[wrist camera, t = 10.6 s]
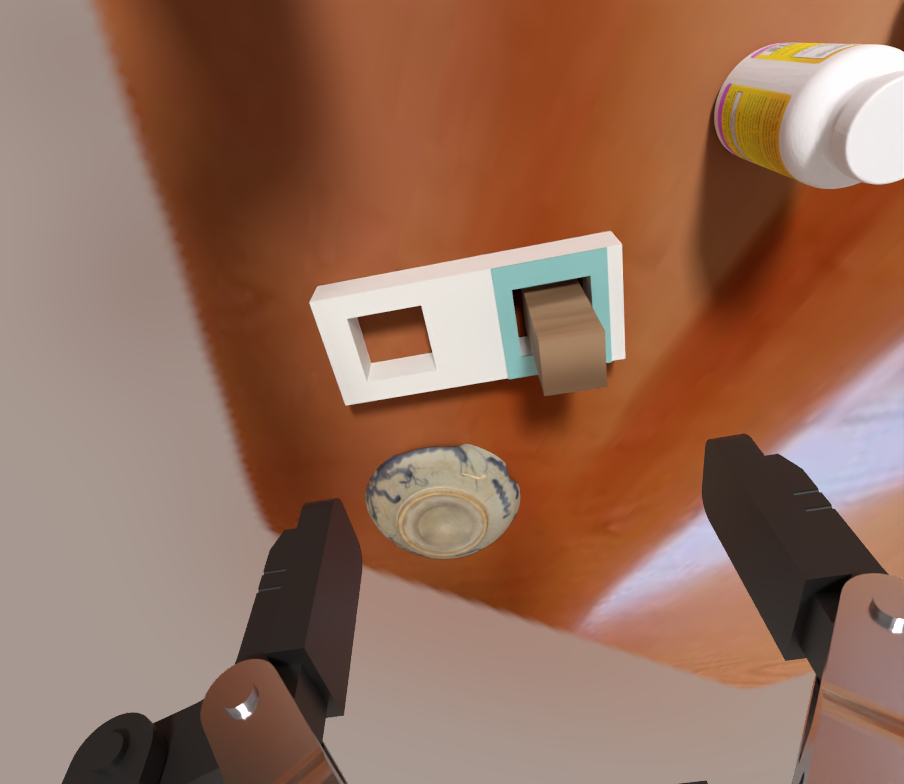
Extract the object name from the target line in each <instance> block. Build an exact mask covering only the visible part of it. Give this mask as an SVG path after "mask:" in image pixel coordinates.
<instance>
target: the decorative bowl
mask: <svg viewBox="0 0 904 784" xmlns="http://www.w3.org/2000/svg"><path fill="white" fill-rule="evenodd" d="M370 480H371V481H370V483H368V485H367V489H366V506H367V510H368V513H369V515H370V517H371V519H372V520H373V522H374V524H375V525H376V526H377V528H378V529H379V530H380V531H381V532H382V534H383V535H384V536H385V537H386V538H388V539H389V540H391V541H394V542H395V545H397V546H398V547H400V548H402V549H404V550H406V551H409V552H411V553H414V554H417V555H420V556H424V557H429V558H436V559H452V558H458V557H463V556H467V555H470V554H472V553H475V552H477V551H479V550H481V549H483V548H485V547H487V546H488V545H490V544H491V543H493V542H494V541H495V540H497V539H498V538H499V537H500V536H501V535H502V534H503V533H504V532H505V530H506V529H507V528H508V527H509V525H510V524H511V523H512V521H513V520H514V518H515V516H516V514H517V511H518V508H519V504H520V490H519V486H518V483H516V482H515V481H513V480H512V479H510V477H509V476H508V471H507V467H506V463H504V462H503V461H502V460H501V459H500V458H498V457H497V456H496V455H494V454H492V453H490V452H488V451H486V450H484V449H482V448H479V447H476V446H473V445H469V444H462V445H460V446H454V447H428V448H422V449H416V450H413V451H409V452H406V453H403V454H399V455H394V456H392V457H391V458H389V459H388V460H386V461H385V462H384V463H383V464H381V465H380V466H379V467H378V469H377V470H376V471H375V472H374V474H373V475H372V477H371V478H370Z"/></svg>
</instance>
